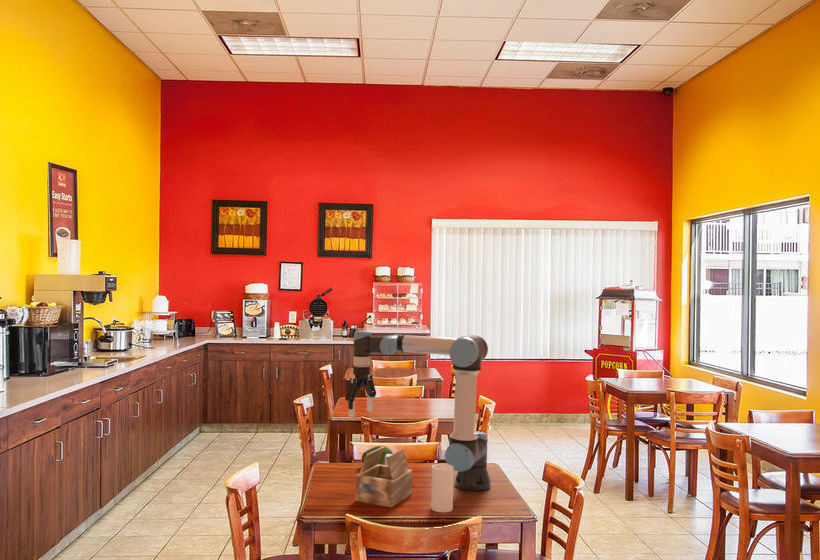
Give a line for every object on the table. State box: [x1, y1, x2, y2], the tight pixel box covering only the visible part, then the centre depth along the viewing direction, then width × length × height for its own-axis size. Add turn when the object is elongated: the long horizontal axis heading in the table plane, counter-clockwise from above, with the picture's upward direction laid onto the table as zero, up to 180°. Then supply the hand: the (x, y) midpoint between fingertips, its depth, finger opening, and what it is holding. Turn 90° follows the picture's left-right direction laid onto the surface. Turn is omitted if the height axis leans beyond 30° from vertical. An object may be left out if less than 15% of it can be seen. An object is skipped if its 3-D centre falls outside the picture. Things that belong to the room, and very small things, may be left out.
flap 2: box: [386, 449, 410, 478], centre depth 247 cm, size 1×14×8 cm, turn 155°
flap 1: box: [359, 447, 384, 474], centre depth 252 cm, size 1×14×8 cm, turn 155°
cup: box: [430, 463, 454, 513], centre depth 238 cm, size 8×8×16 cm
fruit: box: [361, 445, 394, 465], centre depth 290 cm, size 15×10×10 cm, turn 91°
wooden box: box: [355, 464, 413, 509], centre depth 249 cm, size 16×19×10 cm
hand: (360, 414), depth 275 cm, fingers open, 13 cm apart
